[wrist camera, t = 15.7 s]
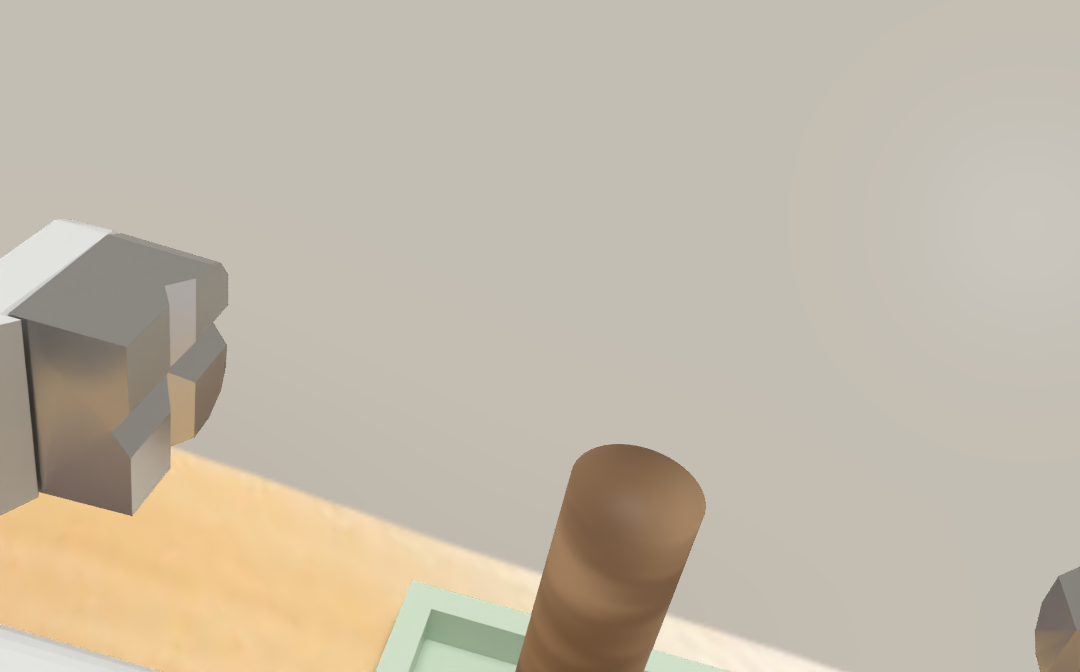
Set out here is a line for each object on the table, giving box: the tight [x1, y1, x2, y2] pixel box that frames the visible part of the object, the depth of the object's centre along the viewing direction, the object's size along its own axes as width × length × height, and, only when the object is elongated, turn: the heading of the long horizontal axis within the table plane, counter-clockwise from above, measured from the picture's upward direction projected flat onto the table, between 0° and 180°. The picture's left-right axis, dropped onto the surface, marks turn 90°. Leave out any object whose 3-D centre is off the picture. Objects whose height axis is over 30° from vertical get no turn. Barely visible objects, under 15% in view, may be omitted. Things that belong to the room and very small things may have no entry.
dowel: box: [515, 444, 706, 672], centre depth 34 cm, size 4×4×16 cm
